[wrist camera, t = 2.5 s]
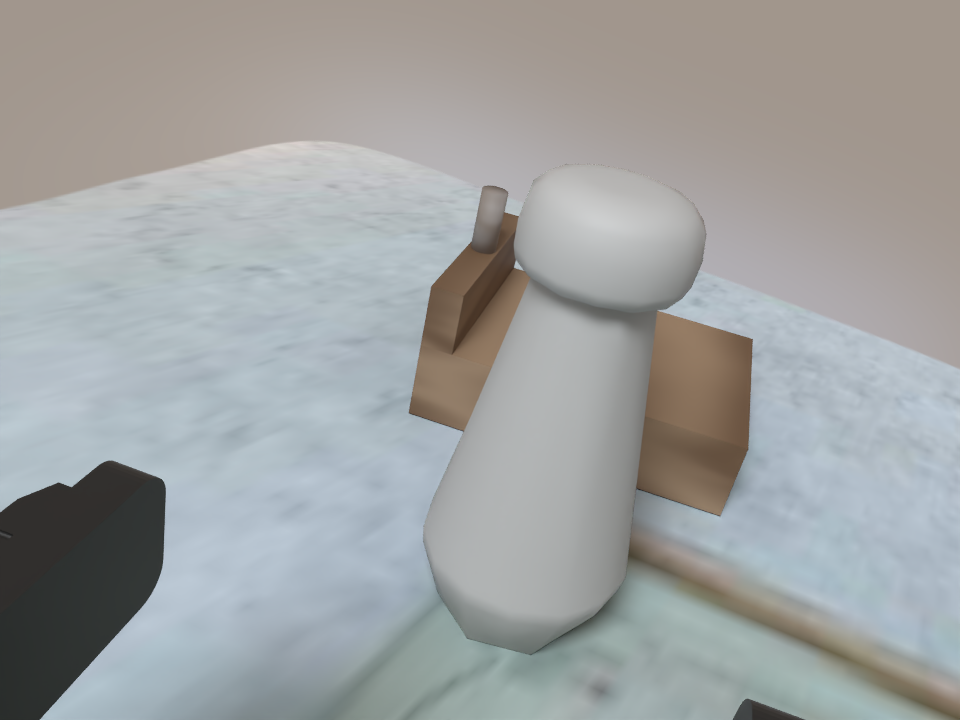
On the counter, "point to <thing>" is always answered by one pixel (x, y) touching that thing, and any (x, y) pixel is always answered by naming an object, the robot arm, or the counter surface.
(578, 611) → the salt shaker
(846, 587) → the counter surface
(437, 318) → the wooden stand
